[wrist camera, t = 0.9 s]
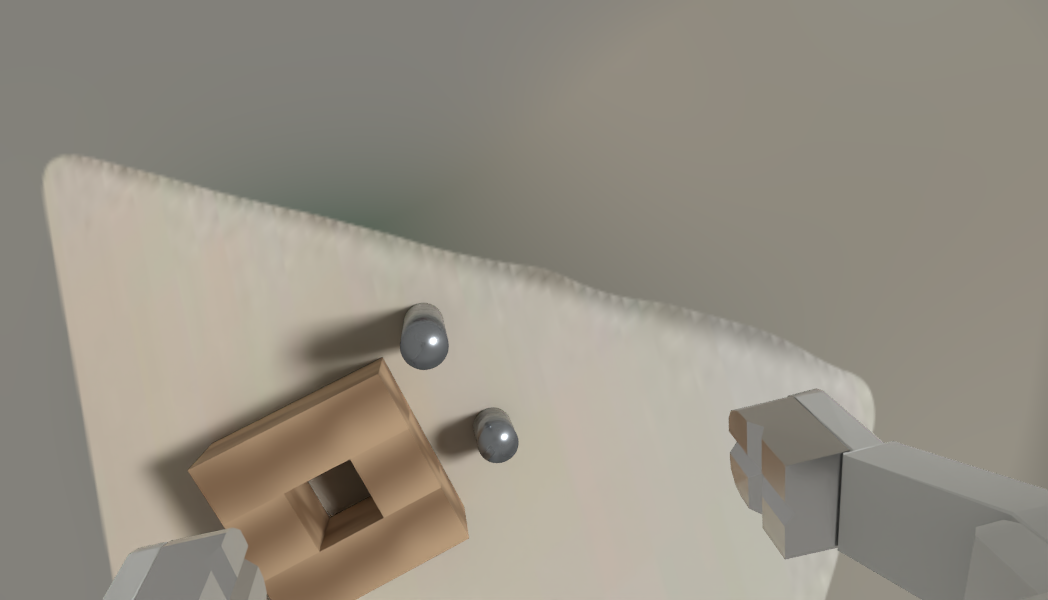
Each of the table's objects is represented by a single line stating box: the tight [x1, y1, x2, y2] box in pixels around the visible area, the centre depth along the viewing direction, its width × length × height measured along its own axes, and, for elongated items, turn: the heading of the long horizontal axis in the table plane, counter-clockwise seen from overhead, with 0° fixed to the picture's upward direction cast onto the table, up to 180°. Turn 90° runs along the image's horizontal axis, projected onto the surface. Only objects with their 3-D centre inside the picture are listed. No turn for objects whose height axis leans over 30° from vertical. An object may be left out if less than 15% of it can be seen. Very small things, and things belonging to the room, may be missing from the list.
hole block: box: [188, 357, 469, 600], centre depth 45 cm, size 14×14×5 cm
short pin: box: [474, 408, 518, 463], centre depth 47 cm, size 3×3×4 cm
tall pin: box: [400, 303, 449, 370], centre depth 43 cm, size 3×3×9 cm
